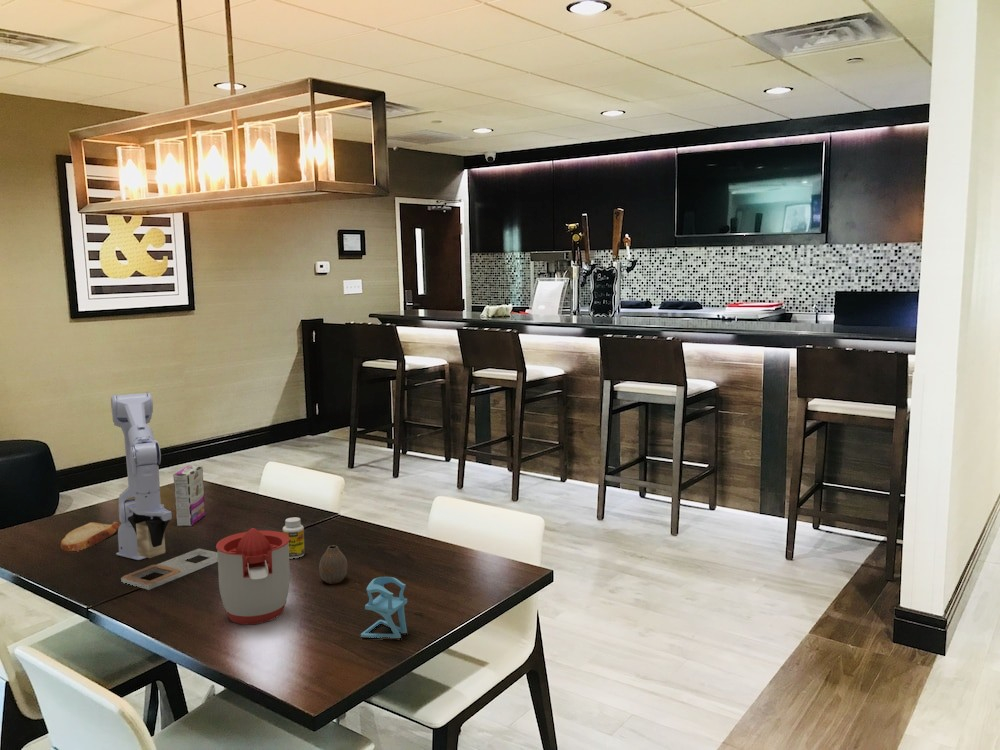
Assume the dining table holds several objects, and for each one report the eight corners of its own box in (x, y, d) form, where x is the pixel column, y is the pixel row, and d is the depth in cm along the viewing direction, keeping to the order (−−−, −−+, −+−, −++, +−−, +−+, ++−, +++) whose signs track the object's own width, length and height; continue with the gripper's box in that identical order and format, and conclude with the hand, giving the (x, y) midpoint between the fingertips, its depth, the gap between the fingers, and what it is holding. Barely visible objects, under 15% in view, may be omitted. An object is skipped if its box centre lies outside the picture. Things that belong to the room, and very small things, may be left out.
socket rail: (121, 582, 192) (121, 576, 192) (199, 552, 213) (198, 547, 213) (148, 589, 187) (148, 584, 187) (225, 558, 209) (225, 553, 208)
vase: (352, 577, 195) (352, 543, 194) (338, 587, 189) (337, 553, 188) (328, 574, 197) (327, 540, 196) (314, 584, 191) (312, 549, 190)
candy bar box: (190, 515, 247) (187, 465, 245) (205, 515, 247) (203, 465, 245) (175, 526, 236) (172, 473, 234) (191, 526, 236) (189, 473, 234)
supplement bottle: (287, 561, 207) (285, 523, 206) (280, 554, 211) (279, 518, 210) (307, 556, 210) (306, 520, 209) (300, 550, 214) (299, 515, 213)
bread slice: (66, 555, 212) (65, 542, 212) (49, 539, 226) (48, 526, 225) (135, 540, 225) (134, 527, 224) (115, 526, 238) (114, 514, 237)
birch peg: (137, 555, 193) (135, 523, 192) (153, 549, 197) (151, 518, 196) (149, 558, 190) (147, 526, 190) (165, 552, 194) (163, 521, 193)
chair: (394, 645, 159) (394, 589, 157) (359, 638, 162) (359, 583, 161) (413, 630, 166) (412, 576, 164) (379, 623, 169) (378, 570, 168)
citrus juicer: (222, 638, 162) (218, 546, 159) (216, 607, 178) (212, 522, 175) (298, 625, 168) (295, 536, 166) (286, 596, 184) (283, 514, 181)
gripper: (180, 490, 191) (183, 544, 193) (142, 483, 198) (145, 535, 200) (156, 497, 185) (159, 552, 187) (117, 490, 192) (120, 543, 194)
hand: (150, 544), depth 193 cm, fingers closed on birch peg, 4 cm apart
